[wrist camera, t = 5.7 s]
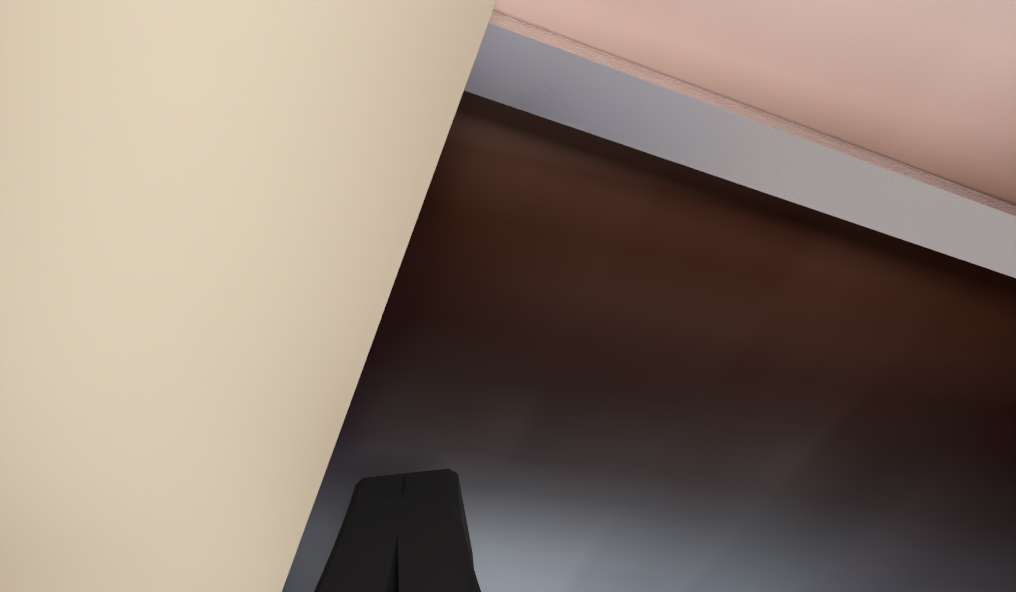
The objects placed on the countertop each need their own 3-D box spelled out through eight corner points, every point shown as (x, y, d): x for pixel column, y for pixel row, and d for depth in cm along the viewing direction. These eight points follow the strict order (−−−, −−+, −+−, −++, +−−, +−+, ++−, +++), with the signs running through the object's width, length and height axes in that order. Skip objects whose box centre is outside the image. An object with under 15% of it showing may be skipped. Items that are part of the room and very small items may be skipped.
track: (1226, 155, 11) (1368, 234, 9) (669, 715, 19) (690, 806, 18) (-1551, -1058, 4) (-2687, -1500, 3) (-534, 566, 13) (-671, 685, 11)
